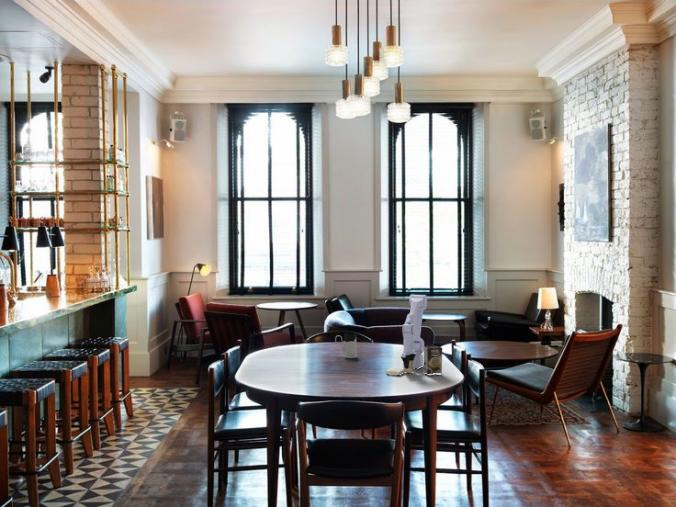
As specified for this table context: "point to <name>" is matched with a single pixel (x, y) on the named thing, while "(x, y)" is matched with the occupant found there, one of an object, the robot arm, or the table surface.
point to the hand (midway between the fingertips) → (408, 367)
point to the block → (411, 367)
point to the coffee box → (432, 359)
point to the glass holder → (349, 345)
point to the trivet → (394, 371)
